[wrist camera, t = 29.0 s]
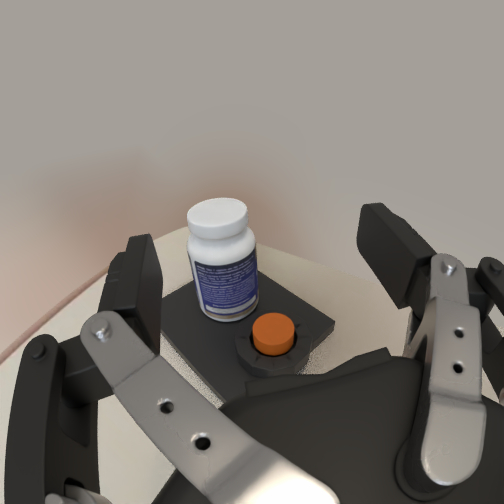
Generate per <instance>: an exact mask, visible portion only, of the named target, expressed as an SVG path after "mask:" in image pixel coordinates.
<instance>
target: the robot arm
mask: <svg viewBox="0 0 504 504" xmlns="http://www.w3.org/2000/svg"><path fill="white" fill-rule="evenodd" d="M357 247H358V250H359V252H360V254H361V255H362V256H363V258H364V259H365V261H366V262H367V263H368V265H369V266H370V268H371V269H372V271H373V272H374V274H375V275H376V276H377V278H378V279H379V281H380V282H381V284H382V285H383V287H384V288H385V290H386V291H387V293H388V294H389V296H390V297H391V299H392V300H393V302H394V303H395V305H396V306H397V308H398V309H402V308H405V307H408V306H410V307H411V308H412V310H411V312H410V315H409V320H408V327H407V334H406V340H405V346H404V351H403V355H402V357H401V356H391V355H390V353H389V351H388V349H387V347H384V348H381V349H378V350H375V351H372V352H368V353H365V354H362V355H358V356H355V357H354V358H352V359H350V360H348V361H347V362H345V363H343V364H341V365H339V366H338V367H336V368H334V369H332V370H330V371H329V372H327V373H324V374H301V375H296V374H282V375H277V376H272V377H267V378H261V379H256V380H250V381H244V384H245V390H246V392H243V393H241V394H239V395H237V396H235V397H233V398H231V399H230V400H228V401H227V402H226V403H224V404H223V405H222V406H220V407H219V408H218V409H217V408H216V407H215V406H214V405H213V404H212V403H210V402H209V401H208V400H207V399H206V398H205V397H204V396H203V395H202V394H200V393H199V392H198V391H197V390H196V389H195V388H194V387H193V386H192V385H191V384H190V383H189V382H188V381H187V380H185V379H184V378H183V377H182V376H181V375H180V374H179V373H178V372H177V371H176V370H175V369H174V368H173V367H172V366H171V365H170V364H169V363H168V362H167V361H166V360H165V359H164V358H163V357H162V356H161V355H160V331H161V307H162V290H163V277H162V271H161V267H160V263H159V260H158V257H157V253H156V250H155V247H154V243H153V240H152V237H151V235H150V234H144V235H138V236H132V237H130V238H129V241H128V244H127V248H126V252H120V253H118V254H117V255H116V256H115V258H114V259H113V260H112V261H111V263H110V266H109V270H108V275H107V277H106V280H105V282H106V283H105V284H104V288H103V292H102V295H101V299H100V303H99V307H98V312H97V313H96V314H94V315H93V316H91V317H90V318H89V319H88V320H87V321H86V322H85V323H84V325H83V326H82V329H81V332H80V335H78V336H76V337H73V338H71V339H68V340H66V341H63V342H61V343H58V342H57V341H56V339H55V338H54V337H53V336H51V335H49V334H42V335H39V336H37V337H35V338H33V339H32V340H31V341H30V342H29V343H28V344H27V346H26V347H25V349H24V351H23V354H22V358H21V362H20V366H19V371H18V375H17V379H16V384H15V389H14V394H13V400H12V406H11V412H10V418H9V426H8V434H7V444H6V456H5V477H4V500H5V504H112V503H111V502H110V501H109V500H108V499H107V498H105V497H104V496H102V495H100V486H99V471H98V442H97V420H98V400H100V399H103V398H105V397H108V396H111V395H114V394H115V396H116V397H117V398H118V400H119V401H120V402H121V404H122V405H123V406H124V408H125V409H126V410H127V412H128V413H129V414H130V416H131V417H132V418H133V419H134V421H135V422H136V423H137V424H138V426H139V427H140V428H141V429H142V430H143V432H144V433H145V434H146V435H147V436H148V437H149V439H150V440H151V441H152V442H153V443H154V444H155V446H156V447H157V448H158V449H159V450H160V451H161V452H162V453H163V454H164V456H165V457H166V458H167V459H168V460H169V461H170V462H171V463H172V464H173V465H174V466H175V467H176V469H175V471H174V472H173V474H172V475H171V477H170V478H169V479H168V481H167V482H166V484H165V485H164V487H163V488H162V489H161V491H160V492H159V494H158V495H157V496H156V498H155V499H154V501H153V502H152V503H151V504H504V337H502V335H501V334H500V332H499V331H498V329H497V328H496V326H495V325H494V323H493V322H492V320H491V319H490V317H489V316H488V314H489V313H490V311H491V309H492V308H493V306H494V304H496V306H497V307H498V309H499V310H500V312H501V313H502V314H503V316H504V265H503V264H502V263H501V262H500V261H498V260H497V259H494V258H491V257H484V258H482V259H481V261H480V263H479V265H478V268H465V267H464V265H463V264H462V263H461V261H459V260H458V259H457V258H455V257H453V256H451V255H448V254H437V253H436V252H435V251H434V250H433V248H431V246H430V245H429V244H428V243H427V242H426V241H425V240H424V239H423V238H422V237H421V236H420V235H418V233H417V232H416V231H415V230H414V229H412V227H411V226H410V225H409V224H408V223H407V222H406V221H405V220H404V219H403V218H401V217H399V216H397V215H396V214H394V213H392V212H391V211H390V210H389V209H388V208H387V207H386V206H385V205H384V204H383V203H371V204H364V205H363V206H362V208H361V213H360V220H359V226H358V232H357ZM482 368H483V369H484V371H485V373H486V375H487V377H488V379H489V381H490V383H491V385H492V387H493V389H494V391H495V393H496V395H497V397H498V399H499V403H500V404H499V403H497V402H495V401H493V400H491V399H489V398H487V397H485V396H484V395H482V394H481V390H482Z"/></svg>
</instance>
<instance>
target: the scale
mask: <svg viewBox="0 0 504 504" xmlns="http://www.w3.org/2000/svg"><path fill="white" fill-rule="evenodd" d="M257 273H258V290H259V299H258V303H257V306H256V307H255V309H254V310H253V311H252V312H251V313H250V314H249V315H248V316H246V317H244V318H242V319H240V320H236V321H230V322H223V321H217V320H214V319H212V318H210V317H208V316H207V315H206V314H205V313H204V312H203V311H202V309H201V307H200V304H199V300H198V296H197V292H196V288H195V283H194V280H193V281H191V282H190V283H188V284H186V285H184V286H183V287H181V288H179V289H177V290H176V291H174V292H172V293H171V294H169V295H167V296H165V297H164V298H162V307H161V331H160V332H161V333H162V335H163V336H164V337H165V338H166V340H167V341H168V342H169V343H170V344H171V346H172V347H173V348H174V349H175V350H176V351H177V353H178V354H179V355H180V356H181V357H182V358H183V359H184V361H185V362H186V363H187V364H188V365H189V366H190V367H191V369H192V370H193V371H194V372H195V373H196V374H197V375H198V376H199V377H200V378H201V380H202V381H203V382H204V383H205V384H206V385H207V386H208V387H209V388H210V389H211V390H212V391H213V392H214V393H215V394H216V395H217V397H218V398H219V399H220V400H221V401H222V402H223V403H226V402H227V401H228V400H230V399H231V398H233V397H235V396H237V395H239V394H241V393H243V392H246V390H245V384H244V381H250V380H256V379H261V378H267V377H272V376H277V375H282V374H296V373H297V372H298V371H299V370H301V369H302V368H303V367H304V366H305V365H306V364H307V362H308V359H309V355H310V352H311V351H312V350H313V349H314V348H315V347H317V346H318V345H319V344H320V343H321V342H322V341H323V340H324V339H325V338H326V337H327V336H328V335H329V334H330V333H331V332H332V331H333V330H334V325H335V321H334V320H333V319H331V318H329V317H328V316H326V315H325V314H323V313H322V312H320V311H319V310H317V309H316V308H314V307H313V306H311V305H310V304H308V303H307V302H305V301H303V300H302V299H300V298H299V297H297V296H296V295H294V294H293V293H291V292H290V291H288V290H287V289H285V288H284V287H282V286H281V285H279V284H278V283H276V282H275V281H273V280H272V279H270V278H269V277H267V276H266V275H264V274H263V273H261V272H260V271H258V270H257ZM268 313H280V314H283V315H285V316H287V317H288V318H290V319H291V321H292V322H293V324H294V340H293V345H292V347H291V348H290V349H289V350H288V351H287V352H286V353H284V354H282V355H278V356H268V355H265V354H263V353H261V352H259V351H258V350H257V349H256V347H255V345H254V341H253V324H254V322H255V321H256V320H257V319H258V318H259V317H260V316H262V315H264V314H268Z"/></svg>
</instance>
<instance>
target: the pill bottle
mask: <svg viewBox="0 0 504 504" xmlns="http://www.w3.org/2000/svg"><path fill="white" fill-rule="evenodd" d="M187 219H188V227H189V230H190V232H191V234H190V236H189V238H188V241H187V252H188V256H189V261H190V265H191V270H192V274H193V279H194V283H195V288H196V292H197V296H198V300H199V304H200V307H201V309H202V311H203V312H204V313H205V314H206V315H207V316H208V317H210V318H212V319H214V320H217V321H223V322H230V321H236V320H240V319H242V318H244V317H246V316H248V315H249V314H250V313H251V312H252V311H253V310H254V309H255V307H256V306H257V303H258V299H259V290H258V273H257V255H256V241H255V236H254V234H253V232H252V230H251V229H250V228H249V227H248V226H247V224H248V212H247V207H246V205H245V204H244V203H243V202H241V201H239V200H237V199H232V198H214V199H209V200H206V201H203V202H200V203H198V204H196V205H195V206H193V207H192V208H191V209H190V210H189V211H188V214H187Z"/></svg>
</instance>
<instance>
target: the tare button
mask: <svg viewBox="0 0 504 504" xmlns="http://www.w3.org/2000/svg"><path fill="white" fill-rule="evenodd" d="M293 340H294V324H293V322H292V321H291V319H290V318H288V317H287V316H285V315H283V314H280V313H268V314H264V315H262V316H260V317H259V318H258V319H257V320H256V321H255V322H254V324H253V341H254V345H255V347H256V349H257V350H258V351H259V352H261V353H263V354H265V355H268V356H278V355H282V354H284V353H286V352H287V351H288V350H289V349H290V348H291V347H292V345H293Z"/></svg>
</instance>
